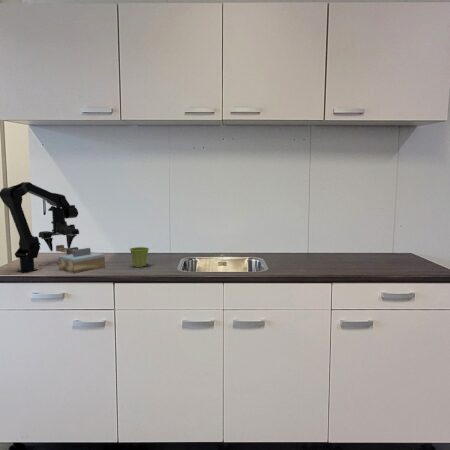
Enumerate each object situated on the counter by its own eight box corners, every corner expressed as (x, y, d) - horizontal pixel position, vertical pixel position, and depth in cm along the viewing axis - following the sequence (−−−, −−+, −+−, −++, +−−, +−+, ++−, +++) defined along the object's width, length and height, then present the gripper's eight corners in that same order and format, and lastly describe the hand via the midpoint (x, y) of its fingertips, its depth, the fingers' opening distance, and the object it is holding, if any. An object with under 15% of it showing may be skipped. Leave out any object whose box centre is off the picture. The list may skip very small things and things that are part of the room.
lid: (59, 260, 173) (58, 250, 173) (89, 255, 186) (88, 245, 185) (74, 264, 165) (73, 253, 165) (104, 258, 178) (104, 248, 178)
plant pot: (150, 263, 186) (149, 246, 185) (148, 267, 177) (148, 250, 176) (131, 264, 185) (130, 247, 184) (128, 268, 175) (128, 250, 174)
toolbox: (56, 268, 175) (55, 249, 174) (86, 262, 188) (85, 245, 187) (74, 273, 166) (73, 253, 165) (105, 266, 179) (104, 248, 178)
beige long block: (56, 251, 186) (55, 245, 186) (61, 250, 189) (61, 244, 189) (68, 253, 180) (67, 247, 180) (73, 252, 182) (73, 247, 182)
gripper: (48, 221, 173) (50, 254, 175) (84, 218, 188) (85, 248, 190) (37, 220, 180) (39, 251, 181) (72, 217, 195) (73, 246, 196)
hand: (60, 249), depth 187 cm, fingers open, 9 cm apart
